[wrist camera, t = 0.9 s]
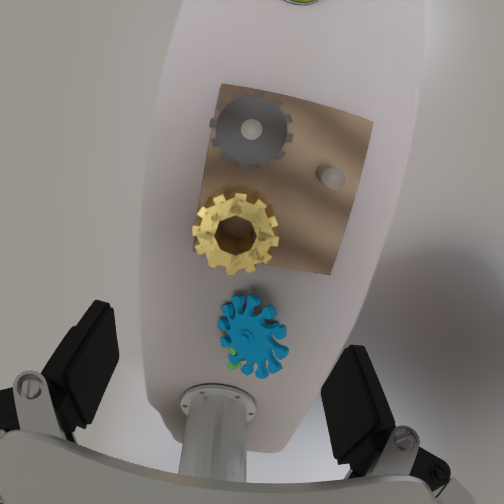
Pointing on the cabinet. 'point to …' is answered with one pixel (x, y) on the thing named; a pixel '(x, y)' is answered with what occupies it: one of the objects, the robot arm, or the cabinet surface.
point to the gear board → (288, 170)
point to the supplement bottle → (302, 1)
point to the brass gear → (228, 248)
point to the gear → (252, 336)
